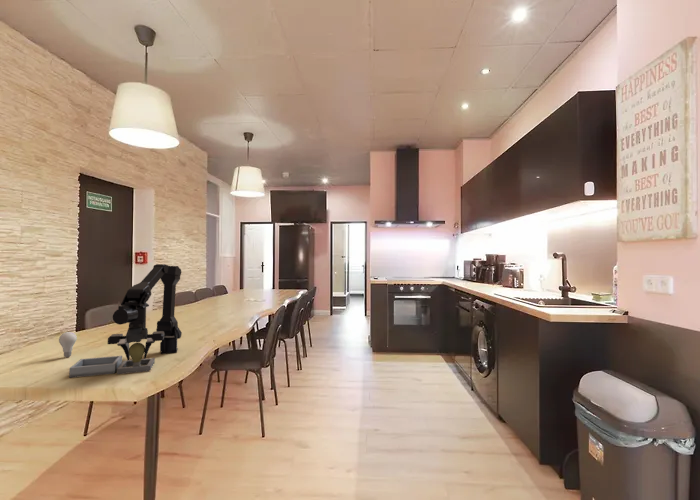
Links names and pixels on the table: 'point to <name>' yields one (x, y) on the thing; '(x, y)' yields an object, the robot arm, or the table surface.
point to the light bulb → (136, 353)
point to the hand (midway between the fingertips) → (136, 359)
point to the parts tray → (95, 366)
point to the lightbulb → (67, 342)
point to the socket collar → (123, 369)
